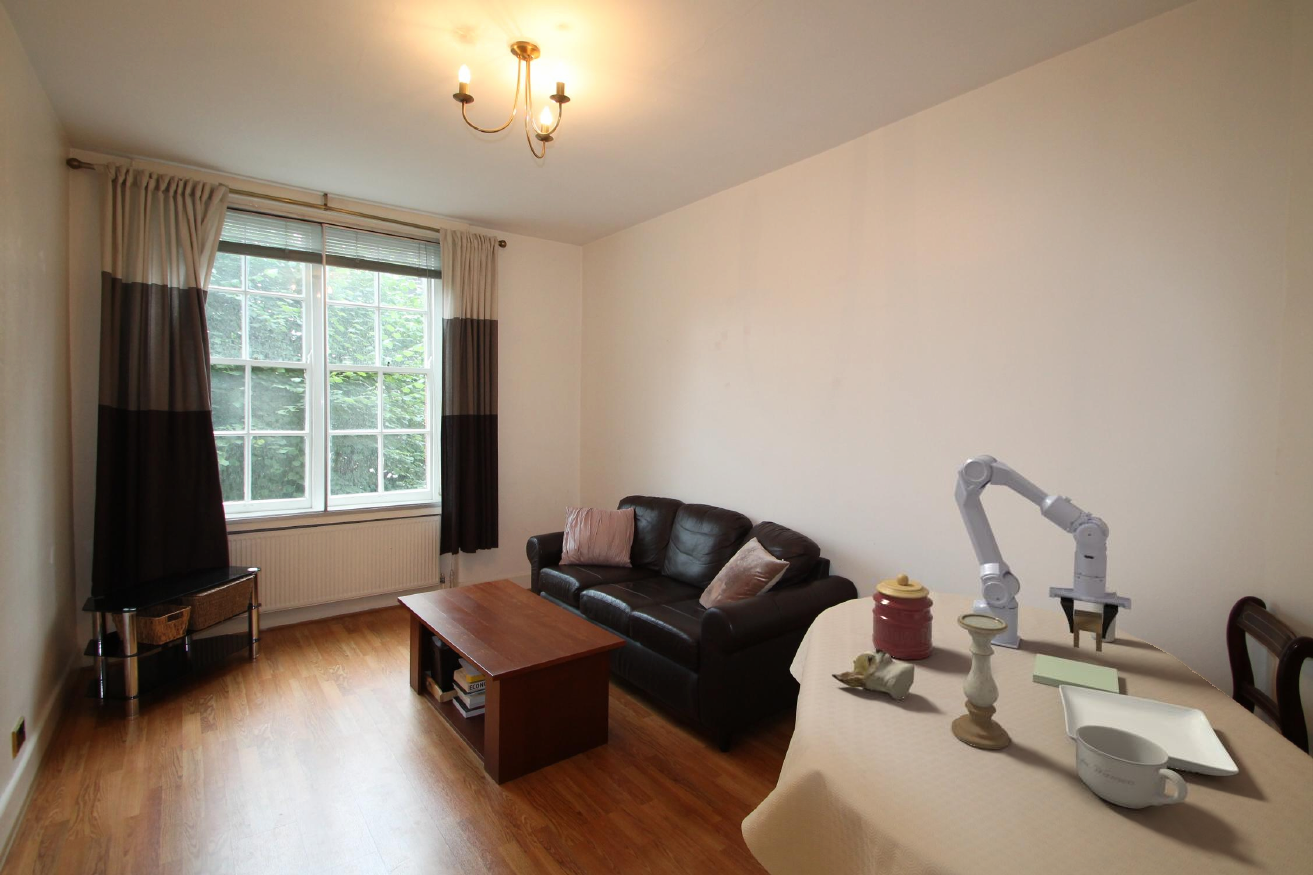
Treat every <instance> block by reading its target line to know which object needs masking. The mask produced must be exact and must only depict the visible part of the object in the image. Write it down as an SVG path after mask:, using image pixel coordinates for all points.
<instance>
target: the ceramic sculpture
mask: <svg viewBox="0 0 1313 875" xmlns="http://www.w3.org/2000/svg"><path fill="white" fill-rule="evenodd" d="M853 664H854V667H853V670H852V671H845V672H844V671H843V672H842V673H840V674H839V673H838V674H836V673H835V674H831V677H833V678H834V679H835V680H836V681H837V682H840V683H842V684H843V685H845V686H847V687H850V688H864V689H866V688H868V689H867V690H869V689H872V690H871V691H874V690H876V691H875V692H885V693H887V694H889V695H890V696H891V697H892V698H893V699H894V698H895V700H896V699H898V700H900V699H899V698H903V697H905V698H906V697H907V696H908V694H909V692H910V689H911V687H912V686H913V684H914V680H915V679H914V678H915V668H916V667H915V665H914V664H910V663H909V664H907V663H905V664H904V663H897V662H895V661H893V659H892V657H891V656H890V655H889V654H888V653H887V652H885V651H883V650H881V649H877V650H876V649H875V651H871V650H868V651H865V652H862V653H860V654H859V655H858V656H857V657H856V659H855V660H853ZM903 699H904V698H903Z"/></svg>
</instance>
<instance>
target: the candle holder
mask: <svg viewBox="0 0 1313 875" xmlns="http://www.w3.org/2000/svg"><path fill="white" fill-rule="evenodd" d="M956 622H957V624H958V626H959V627H961V628H962V629H964V630H966V631H967V633H968V634H969V636H971V640H972V639H973V640H972V643H971V645H970V646H969V647H968V650H969V651H970V652H971V656H972V658H971V667H970V671H969V673H968V675H966V677H965V680H964V682H963V685H962V691H963V694H964V696H965V697H966V699H967V700H966V701H965V702H964V707H965V708H966V709H967V712H968V713H966V714H962V715H960V716H959V717H958V718H955V719H953V720H952V722H951V725H950V728H951V732H952V731H953V732H952V734H953V733H954V734H955V735H954V734H953V735H954V736H955V737H956V738H957V737H958V738H960V739H961V740H963V741H965V742H966V743H965V742H964V743H965V744H967V743H969V744H972V745H975V746H977V747H976V748H979V747H981V748H980V749H984V748H986V749H985V750H999V749H1004V748H1006V747H1007V746H1008V745H1009V742H1010V736H1009V733H1008V731H1007V730H1006V729H1005V728H1003V727H1002V725H1001V724H1000V722H998V721H996V720H995V719H994V718H993V716H994V714H996V713H997V708H996V706H995V705H994V704H995V703H996V702H997V701H998V699H999V697H1000V696H999V695H1000V694H999V689H998V686H997V683H996V681H995V679H994V677H993V674H992V670H991V669H992V668H991V667H992V666H991V658H992V656H993V655H994V654H995V650H994V649H993V648H992V644H991V641H992V640H993V639H994V638H995V637H996V634H1002V633H1005V632H1007V630H1008V626H1007V624H1006V622H1005V621H1003V620H1001V619H999V618H997V617H994V616H990V615H985V614H977V613H973V612H971V613H968V612H967V613H962V614H960V615H959V616H958V617H957V619H956ZM958 738H957V739H958ZM960 739H959V740H960ZM961 740H960V741H961ZM963 741H962V742H963ZM969 744H968V745H969ZM972 745H971V746H972ZM975 746H974V747H975Z"/></svg>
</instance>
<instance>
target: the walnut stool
mask: <svg viewBox="0 0 1313 875" xmlns="http://www.w3.org/2000/svg"><path fill="white" fill-rule="evenodd" d="M1073 615H1074V634H1073V648H1074V649H1075V648H1076V649H1079V648H1080V631H1081V632H1088V633H1090V632H1094V633H1096V640H1095V652H1098V653H1102V652H1103V642H1102V613H1098V612H1091V610H1083V609H1075V608H1074V614H1073Z"/></svg>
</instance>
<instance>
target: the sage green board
mask: <svg viewBox="0 0 1313 875" xmlns="http://www.w3.org/2000/svg"><path fill="white" fill-rule="evenodd" d="M1033 666H1034V667H1033V672H1032V682H1034V683H1039V684H1044V685H1048V686H1052V687H1056V688H1059V686H1060V685H1069V686H1075V687H1081V688H1086V689H1092V690H1098V691H1104V692H1110V693H1115V694H1120V690H1119V680H1118V679H1119V678H1118V677H1119V676H1118V671H1117V670H1118V669H1117V668H1113V667H1112V668H1111V667H1108V666H1102V665H1097V664H1092V663H1086V662H1083V661H1076V660H1071V659H1067V658H1063V657H1062V658H1061V657H1058V656H1057V657H1056V656H1052V655H1046V654H1040V653H1036V657H1035V663H1034V665H1033Z"/></svg>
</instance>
